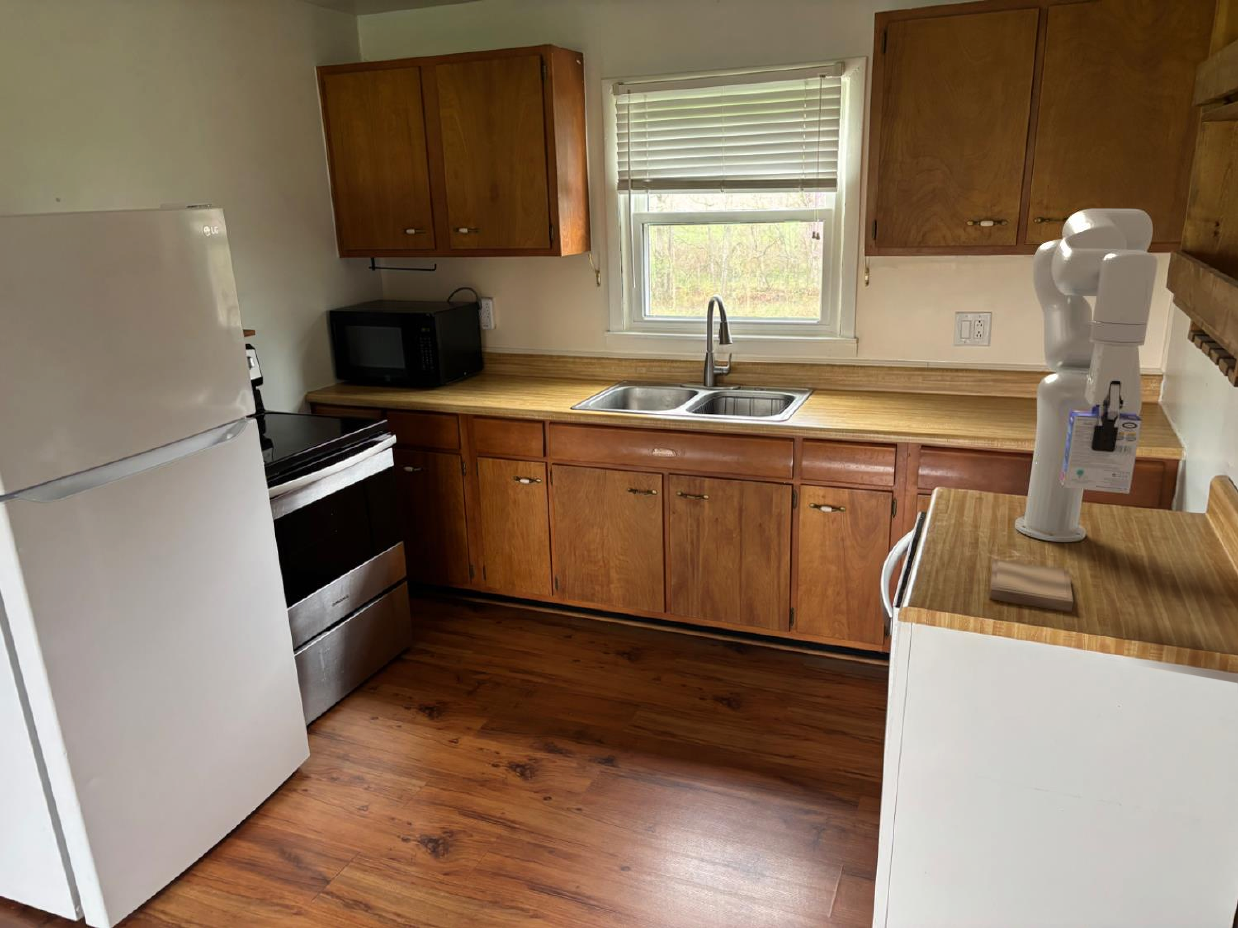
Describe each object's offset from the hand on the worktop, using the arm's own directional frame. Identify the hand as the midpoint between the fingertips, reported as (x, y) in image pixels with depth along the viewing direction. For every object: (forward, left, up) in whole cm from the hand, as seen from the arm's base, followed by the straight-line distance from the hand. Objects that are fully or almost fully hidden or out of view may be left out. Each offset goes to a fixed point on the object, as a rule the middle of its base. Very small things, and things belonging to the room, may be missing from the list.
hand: (1100, 445), depth 143 cm
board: (+5, -7, -25) cm, 26 cm away
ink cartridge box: (0, 0, -7) cm, 7 cm away
